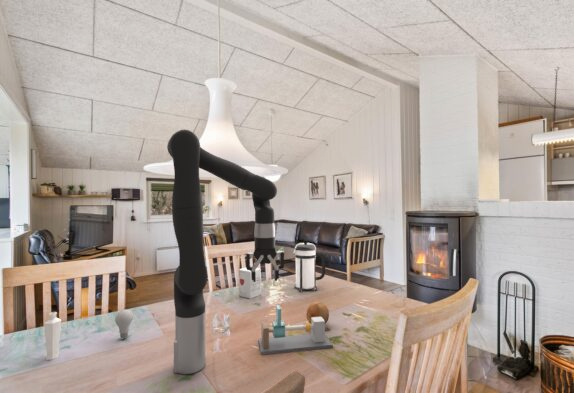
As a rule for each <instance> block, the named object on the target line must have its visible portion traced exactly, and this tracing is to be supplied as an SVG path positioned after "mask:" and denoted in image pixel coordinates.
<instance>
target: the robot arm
mask: <svg viewBox="0 0 574 393" xmlns="http://www.w3.org/2000/svg"><path fill="white" fill-rule="evenodd" d="M166 149H167V151H168V154H169V156H170V157H171V159H172V163H173V170H174V181H173V186H172V194H171V195H172V196H171V197H172V198H171V214H172V225H173V231H174V236H175V238H176V243H177V245H178V246H177V247H178V251H179V252H178V253H179V264H178V266H177V267H176V269H175V270H174V274H173V302H174V310H175V311H174V312H175V314H174V316H175V319H174V320H175V322H174V323H175V324H174V325H175V326H174V327H175V329H174V330H175V331H174V333H175V335H174V336H175V337H174V340H173V373H174V374H175V373H176V374H179V375H180V374H181V375H192V374H194V373H198V372H201V370H203V369H204V368H205V366H206V301H205V296H204V289H205V288H206V285H207V283H208V270H207V264H206V260H205V259H206V258H205V252H204V213H203V198H202V187H201V181H200V169H201V170H203V171H206V172H207V173H210V174H211V175H214V176H216V177H217V178H219V179H221V180H223V181H225V182H226V183H228V184H230V185H232V186H234V187H236V188H238V189H240V190H243V191H248V192H250V193H251V196H252V204H253V208H254V213H255V214H254V233H253V235H254V251H253V252H249V251H248V252H246V253H245V261H246V262H245V263H246V264H245V268H247V270H250V271H251V278H252V280H253V281H254V282H256V272H255V270H256V268H258V267H259V265H265V264H267V265H269V264H272V266H273V267H274V271H273V273H274V281H275V282H277V281H278V280H279V279H280V272H279V271H280V270H281V269H284V268H285V252H284V251H282V250H280V251H277V250H276V227H275V210H274V208H273V207H272V206H271V200H272V199H274V198H276V196H277V194H278V189H277V186H276V184H275V183H274V182H272V181H271V180H270V179H268V178H266V177H262V176H260V175H259V174H255V173H253V172H251V171H250V170H248V169H246V168H245V167H242V166H241V165H239V164H238V163H235V162H233V161H230V160H228V159H225V158H221V157H220V156H217V155H215V154H213V153H210V152H209V151H207V150H205V149H204V148H202V147H201V143H200V139H199V138H198V136H197V135H196V134H195V133H194V132H193V131H191V130H189V129H180V130H177V131H176V132H175V133H173V134H172V135H171V137H170V138H169V140H168V142H167V146H166ZM253 257H254V258H255V261H254V263H253V264H252V266H251V259H252V258H253ZM276 257H278V258H279V264H277V263H276V261H275V258H276Z"/></svg>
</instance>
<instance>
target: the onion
mask: <svg viewBox="0 0 574 393" xmlns="http://www.w3.org/2000/svg"><path fill="white" fill-rule="evenodd" d="M305 314H306V315H305V316H306V319H307V322H309V323H310V324H311V317H322V318H323V319H324V321H325V325H326V324H327V323H328V321H329V318H330V312H329V309H328V306H327V305H326V303H323V302H321V301H320V300H319V301H314V302H312V303H311V304H310V305H309V306H308V308H307V310H306V313H305Z"/></svg>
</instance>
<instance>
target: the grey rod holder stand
mask: <svg viewBox="0 0 574 393" xmlns="http://www.w3.org/2000/svg"><path fill="white" fill-rule="evenodd" d="M301 330H302V331H303V330H305V332H307V333H304V334H294V335H291V334H290V335H285V337H281V338H274V336H271V337H270V333H273V332H274V327H273V326H271V327H269V324H268V321H261V337H260V338H259V337H258V345H259V350H260V351H259V352H260V355H270V354H279V353H280V354H281V353H290V352H299V351H310V350H321V349H330V348H333V347H334V346H333V343H332V341H331V340H330V339H329V337H328V336H327V335H326V324H325V321H324V319H323V318H322V317H311V324H310V323H309V322H308V321H306V322H305V324H298V325H285V332H291V331H301ZM308 332H311V333H308Z"/></svg>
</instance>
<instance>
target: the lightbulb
mask: <svg viewBox="0 0 574 393" xmlns="http://www.w3.org/2000/svg"><path fill="white" fill-rule="evenodd" d="M133 319H134V314H133V312H132V311H131V310H128V309H122V310H120V311H119V312H117V313H116V315H115V318H114V321H115V324H116V326H117V327H118V330H119V331H118V332H119V334H120V335H119V336H120V339H122V340H124V339H127V338H128V336H129V331H130V330H129V329H130V326H131V323H132V321H133Z"/></svg>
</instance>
